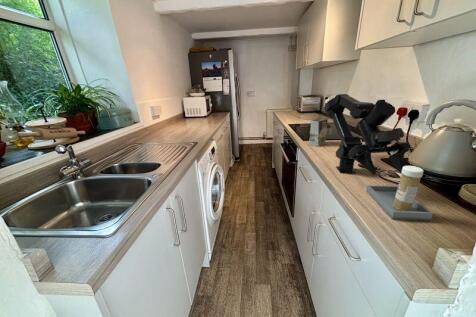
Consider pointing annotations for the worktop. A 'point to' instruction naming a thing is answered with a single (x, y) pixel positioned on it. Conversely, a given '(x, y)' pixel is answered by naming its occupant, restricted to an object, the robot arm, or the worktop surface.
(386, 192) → the tray
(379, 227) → the worktop surface
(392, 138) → the robot arm
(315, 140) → the coffee box
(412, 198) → the sprinkles bottle
